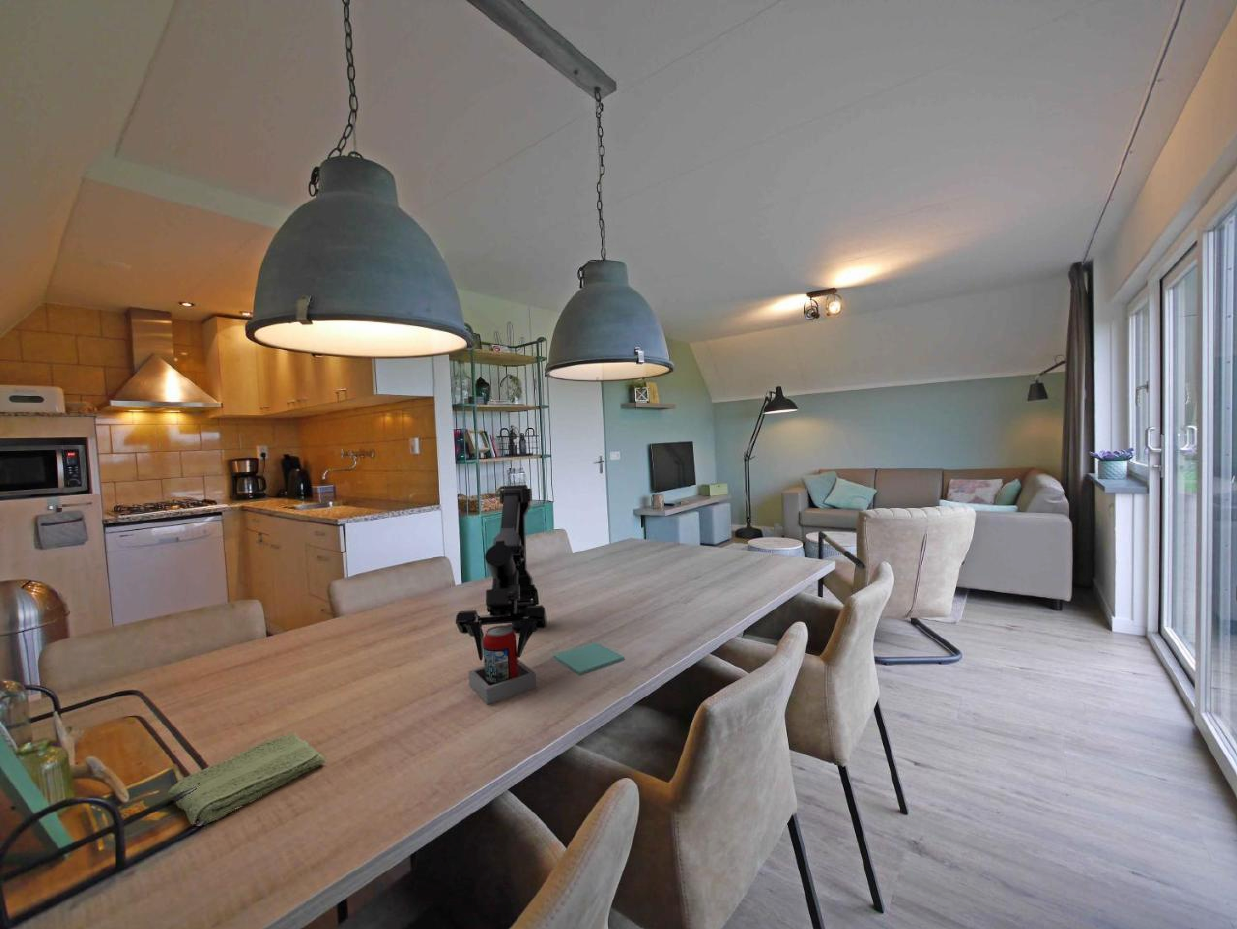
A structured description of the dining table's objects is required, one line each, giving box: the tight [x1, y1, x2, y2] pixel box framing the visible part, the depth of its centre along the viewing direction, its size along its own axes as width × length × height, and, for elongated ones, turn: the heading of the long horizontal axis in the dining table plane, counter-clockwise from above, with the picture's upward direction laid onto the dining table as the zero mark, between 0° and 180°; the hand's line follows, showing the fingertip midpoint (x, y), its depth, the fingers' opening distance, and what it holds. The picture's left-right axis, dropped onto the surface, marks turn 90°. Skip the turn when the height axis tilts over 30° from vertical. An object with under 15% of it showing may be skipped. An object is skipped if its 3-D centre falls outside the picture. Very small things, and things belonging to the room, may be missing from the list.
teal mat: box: [552, 641, 625, 676], centre depth 121 cm, size 12×12×1 cm
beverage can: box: [483, 625, 519, 686], centre depth 109 cm, size 7×7×12 cm
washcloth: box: [167, 733, 325, 824], centre depth 81 cm, size 13×18×3 cm
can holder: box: [467, 659, 538, 705], centre depth 109 cm, size 11×11×3 cm
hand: (499, 658), depth 107 cm, fingers open, 7 cm apart
